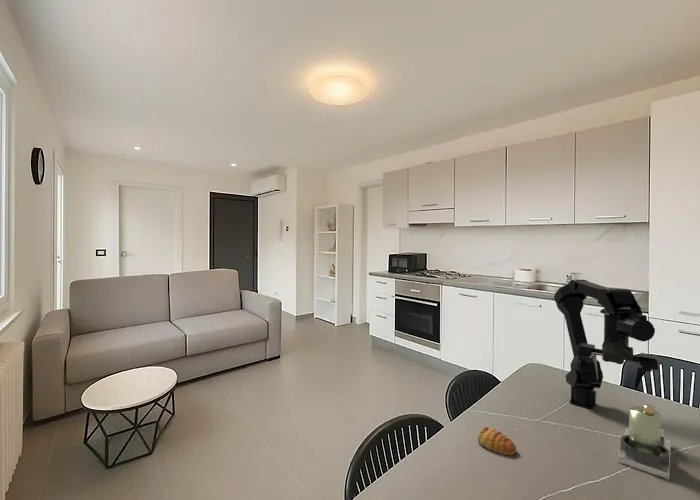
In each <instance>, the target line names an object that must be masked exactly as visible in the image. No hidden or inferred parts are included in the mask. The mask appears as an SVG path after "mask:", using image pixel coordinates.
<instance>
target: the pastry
mask: <svg viewBox="0 0 700 500" xmlns="http://www.w3.org/2000/svg"><path fill="white" fill-rule="evenodd" d="M477 442H479V444H480V446H482V447H485V448H486V449H487V450H489V451H493V452H495V453H498V454H502V455H508V456H512V455H514V454H515V453H516V450H517V446H516V444H515V442H513V441H512V439H510V438H508V436H507V435H506V434H503V433H502V432H501V430H499V431H498V430H497V429H496V428H490V427H488V426H483V427H482V428H481V429H480V431H479V433H478V435H477Z"/></svg>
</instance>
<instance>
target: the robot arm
mask: <svg viewBox="0 0 700 500" xmlns="http://www.w3.org/2000/svg"><path fill="white" fill-rule="evenodd" d="M553 297H554V298H553V299H554V302H555V305H556V308H557V309H558V310H559V312H561V314H563V316H564V319H565V322H566V328H567V332H568V336H569V341H570V346H571V351H572V353H573V358H572V360H571V362H570V364H569V365H570V371H569V372H568V373H567V374H565V382H566V383H567V384H568V385H569V386H570V400H569V404H572V405H575V406H578V407H579V406H580V407H583V408H587V409H590V410H593V409H594V407H596V405H597V401H598V400H597V397H598V395H597V393H598V392H597V391H596V390H595V389H601V387H602V383H603V379H604V375H603V373H604V372H603V371H602V368H601V363H600V361H599V360H598V358H597V356H599V357H602V358H601V359H602V361H603V362H607V363H615V364H617V365H623V364H624V363H625V361H628V362H634V363H638V365H637V371H636V376H635V381H634V390H637V389H638V388H639V385H640V383H641V380H642V378H643V377H644V375H645V374H646V373H647V372H649V373H652V372H653V371H659V365H660V357H659V356H658V355H656V354H652V353H651V354H650V353H645V352H640V354H639V355H636V354H634V347H632V346H630V345H629V344H630V343H629V340H630V338H631V339H635V340H636V341H639V342H648V341H650V340H651V339H653V337H654V336H655V333H656V328H655V327H654V325H653V323H652V322H650V321H649V320H648V316H647V315H645V314H643V311H642V308H641V306H640V305H639V303H638V300H637V298H636V297H635V295H634V294H633V292H632V291H631V290H630V289H628V288H614V287H613V288H611V287H606V286H604V285H600V284H597V283H594V282H591V281H588V280H586V279H572V280H570V281H569V282H568V283H567V284H565V285H563V286H561V287H559V288H558V290H556V292H555V293H554V296H553ZM588 297H589V298H593V299H595V300H597V304H599V305H601V307H603V308H602V309H600V311H599V313H600V314H604V315H603V316H604V317H603V318H604V319H603V320H604V323H603V325H604V326H603V327H604V328H603V343H602V345H601V349H600V348H596V345H595V344H592V343H588V340H587V339H588V338H587V336H586V331H585V327H584V324H583V322H584V321H583V319H582V316H581V315H582V314H581V313H582V310H583V308H584V306H585V305H584V301H585V300H586V299H587V298H588Z"/></svg>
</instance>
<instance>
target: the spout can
mask: <svg viewBox="0 0 700 500" xmlns="http://www.w3.org/2000/svg"><path fill="white" fill-rule="evenodd" d="M628 408H629V409H628V410H629V411H628V412H629V413H628V429H629V446H630V447H632V448H634V449H635V450H637V451H640V452H643V453H646V454H650V455H658V456H660V433H661V429H662V428H661V427H662V424H661V423H662V421H661V420H662V417H661V416H662V415H661V413H660V412H659V411H657V410H656V409H655V406H654V405H651V404H647V403H646V404H645V403H644V404H643V406H640V405H630V406H629V407H628Z"/></svg>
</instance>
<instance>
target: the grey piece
mask: <svg viewBox="0 0 700 500" xmlns="http://www.w3.org/2000/svg"><path fill="white" fill-rule="evenodd" d="M665 432H666V430H665V429H663V428H661V433H660V456H658V455H650V454H646V453H643V452H640V451H637V450H635V449H634V448H632V447H630V446H629V427H626V428H625V430H624V434H623V435H622V436H621V437H620V449H619V452H618V456H617V462H618V463H620V464H622V465H626V466H627V467H628V466H629V467H631V468H634V469H637V470H640V471H642V472H645V473H647V474H651V475H654V476H657V477H660V478H663V479H665V480H668V481H670V472H671V470H670V469H671V446H672V445H671V443H672V441H671V440H670V439H665V436H666V435H665Z"/></svg>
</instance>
